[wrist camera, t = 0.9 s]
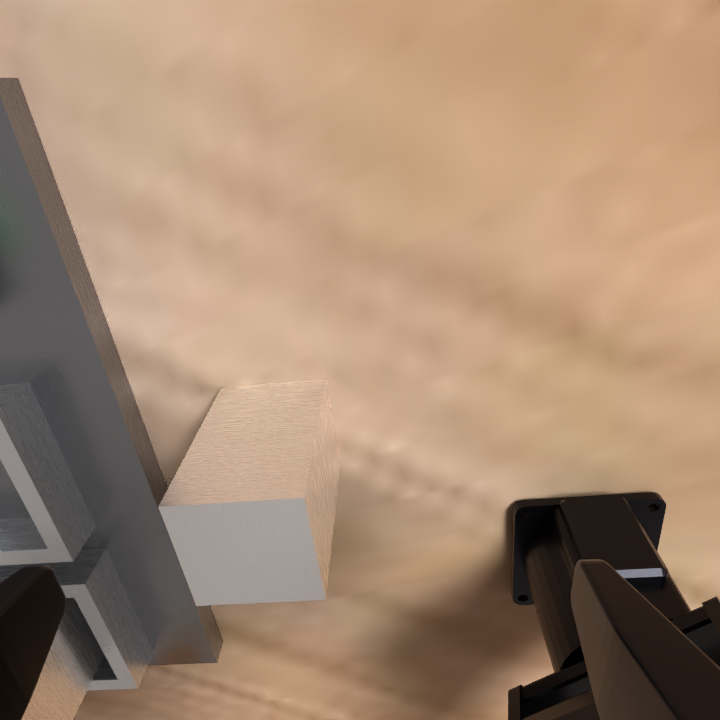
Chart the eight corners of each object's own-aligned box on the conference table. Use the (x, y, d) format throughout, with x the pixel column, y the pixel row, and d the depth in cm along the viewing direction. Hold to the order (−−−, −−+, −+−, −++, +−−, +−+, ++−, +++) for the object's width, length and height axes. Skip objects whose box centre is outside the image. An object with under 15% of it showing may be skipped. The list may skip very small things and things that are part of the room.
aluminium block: (340, 463, 24) (325, 600, 17) (244, 470, 24) (196, 606, 18) (326, 378, 22) (304, 497, 15) (221, 387, 22) (158, 507, 16)
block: (115, 632, 28) (38, 791, 21) (36, 636, 28) (-63, 793, 22) (85, 574, 26) (-9, 730, 19) (0, 578, 26) (-119, 733, 20)
